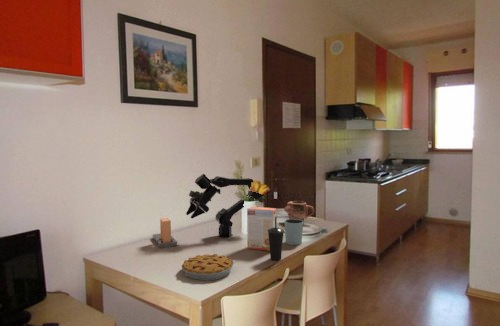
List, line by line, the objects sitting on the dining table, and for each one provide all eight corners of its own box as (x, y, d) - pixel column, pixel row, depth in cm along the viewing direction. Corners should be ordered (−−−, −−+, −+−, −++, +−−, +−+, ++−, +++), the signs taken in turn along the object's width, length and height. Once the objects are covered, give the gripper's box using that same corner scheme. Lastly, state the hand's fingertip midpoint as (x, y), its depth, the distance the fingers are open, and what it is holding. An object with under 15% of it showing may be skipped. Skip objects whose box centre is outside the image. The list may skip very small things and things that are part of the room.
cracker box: (277, 248, 187) (277, 207, 185) (273, 251, 181) (273, 210, 179) (251, 245, 192) (251, 206, 190) (247, 248, 186) (246, 208, 185)
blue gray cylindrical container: (292, 239, 203) (292, 217, 202) (307, 242, 196) (307, 220, 195) (280, 242, 196) (280, 220, 195) (295, 246, 189) (295, 224, 188)
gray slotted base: (152, 238, 206) (152, 234, 206) (168, 236, 210) (168, 232, 210) (159, 248, 188) (159, 244, 188) (177, 245, 192) (176, 241, 192)
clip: (160, 242, 198) (160, 218, 197) (168, 241, 200) (167, 218, 199) (163, 246, 192) (162, 221, 191) (171, 245, 193) (170, 220, 192)
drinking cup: (266, 256, 174) (266, 215, 172) (282, 256, 175) (282, 214, 173) (268, 262, 166) (268, 218, 165) (285, 261, 167) (285, 218, 165)
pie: (240, 265, 163) (240, 254, 163) (222, 284, 142) (222, 272, 142) (196, 260, 170) (195, 250, 169) (172, 278, 149) (171, 266, 148)
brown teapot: (315, 221, 242) (315, 201, 241) (313, 226, 231) (313, 204, 230) (286, 219, 248) (286, 199, 247) (282, 224, 237) (282, 202, 236)
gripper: (192, 183, 209) (174, 203, 205) (202, 187, 192) (182, 210, 189) (206, 195, 213) (188, 216, 209) (217, 201, 196) (197, 223, 192)
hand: (188, 216), depth 200 cm, fingers open, 9 cm apart
